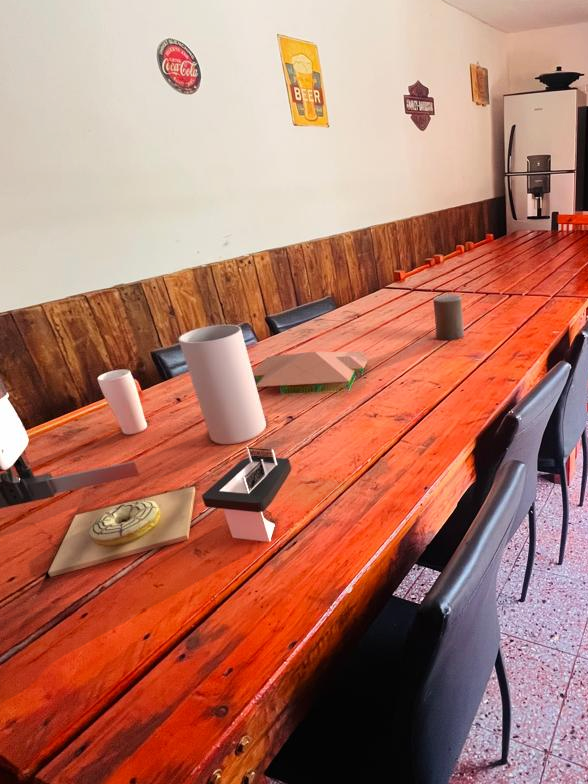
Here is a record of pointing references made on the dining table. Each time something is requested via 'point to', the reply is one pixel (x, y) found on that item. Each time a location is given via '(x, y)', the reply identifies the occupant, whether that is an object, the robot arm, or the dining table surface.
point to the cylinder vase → (224, 383)
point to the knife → (75, 480)
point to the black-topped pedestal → (249, 494)
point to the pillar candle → (448, 317)
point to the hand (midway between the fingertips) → (24, 496)
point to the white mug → (123, 400)
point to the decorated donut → (125, 523)
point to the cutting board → (86, 552)
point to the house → (310, 369)
